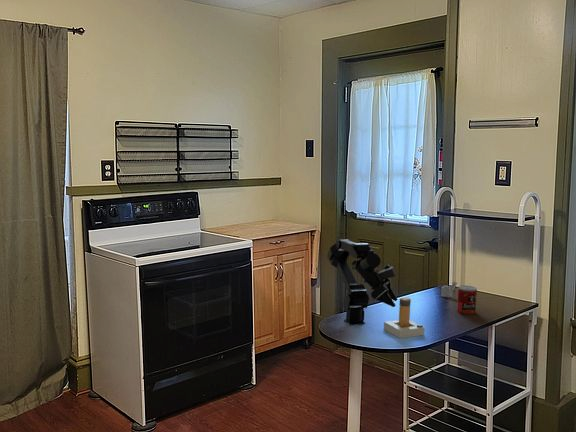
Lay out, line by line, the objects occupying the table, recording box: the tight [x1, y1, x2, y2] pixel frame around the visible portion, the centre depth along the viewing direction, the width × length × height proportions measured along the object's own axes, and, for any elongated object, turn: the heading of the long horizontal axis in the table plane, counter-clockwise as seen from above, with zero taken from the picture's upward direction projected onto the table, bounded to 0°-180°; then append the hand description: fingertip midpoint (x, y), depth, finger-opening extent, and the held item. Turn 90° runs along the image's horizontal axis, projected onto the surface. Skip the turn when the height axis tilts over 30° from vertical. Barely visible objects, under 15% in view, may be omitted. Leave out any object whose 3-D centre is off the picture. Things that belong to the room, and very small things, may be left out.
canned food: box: [456, 284, 478, 315], centre depth 250 cm, size 8×8×11 cm
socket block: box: [383, 319, 426, 339], centre depth 221 cm, size 11×11×4 cm
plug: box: [398, 297, 412, 328], centre depth 220 cm, size 4×4×13 cm
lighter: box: [440, 281, 458, 299], centre depth 274 cm, size 7×2×8 cm, turn 51°
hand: (395, 303), depth 221 cm, fingers open, 9 cm apart
